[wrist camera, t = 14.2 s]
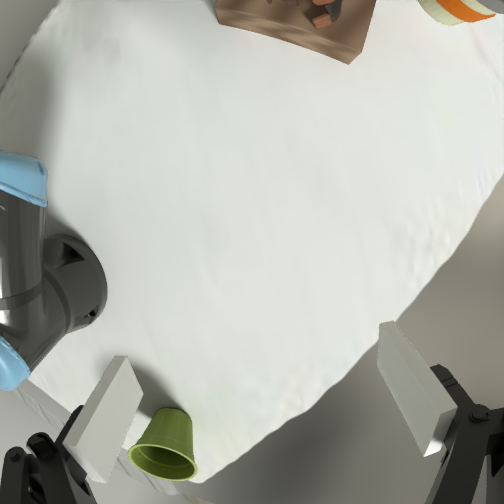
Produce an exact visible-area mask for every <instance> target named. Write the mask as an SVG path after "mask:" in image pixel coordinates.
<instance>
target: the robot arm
mask: <svg viewBox="0 0 504 504" xmlns="http://www.w3.org/2000/svg"><path fill="white" fill-rule="evenodd" d="M47 178H48V174H47V169H46V166H45V165H44V163H43V162H42V161H41V160H39V159H37V158H34V157H31V156H27V155H23V154H19V153H14V152H9V151H3V150H0V389H1V390H12V389H14V388H16V387H17V386H18V385H19V384H20V383H21V382H22V381H23V380H24V379H25V378H28V377H29V376H30V375H31V372H32V371H33V370H34V369H35V368H36V367H37V365H38V364H39V363H40V362H41V361H42V360H43V358H44V357H45V356H46V355H47V354H48V353H49V352H50V351H51V349H52V348H53V347H54V346H55V345H56V344H57V343H58V342H59V341H60V340H61V338H62V337H63V336H64V335H65V334H68V333H70V332H73V331H76V330H79V329H82V328H84V327H87V326H88V325H90V324H91V323H93V322H94V321H95V320H96V318H97V317H98V316H99V315H100V314H101V313H102V311H103V309H104V307H105V304H106V300H107V282H106V278H105V274H104V271H103V269H102V267H101V264H100V263H99V261H98V259H97V258H96V256H95V255H94V253H93V252H92V251H91V250H90V249H89V248H88V247H87V246H86V245H85V244H84V243H82V242H81V241H80V240H78V239H76V238H74V237H71V236H68V235H54V236H51V237H49V238H47V239H44V228H45V213H46V207H47V205H48V202H47V201H46V193H47ZM377 367H378V369H379V371H380V373H381V375H382V376H383V378H384V380H385V382H386V384H387V386H388V388H389V389H390V391H391V393H392V395H393V397H394V399H395V401H396V403H397V405H398V407H399V408H400V410H401V412H402V414H403V416H404V418H405V420H406V422H407V424H408V426H409V428H410V430H411V432H412V434H413V436H414V438H415V440H416V442H417V444H418V446H419V448H420V450H421V452H422V455H423V457H425V456H428V455H430V454H433V453H435V452H438V451H440V449H441V447H442V445H443V442H444V444H445V446H446V448H447V450H446V452H445V454H444V456H443V458H442V460H441V462H442V463H441V466H440V469H439V471H438V474H437V476H436V479H435V481H434V484H433V486H432V488H431V491H430V493H429V495H428V497H427V500H426V502H425V504H471V503H472V500H473V496H474V493H475V490H476V487H477V484H478V480H479V476H480V473H481V469H482V465H483V461H484V457H485V456H487V494H486V504H504V408H499V409H494V410H489V409H488V408H487V407H486V406H483V405H480V404H475V403H473V401H472V400H471V398H470V397H469V396H468V395H467V393H466V392H465V391H464V389H463V388H462V387H461V386H460V384H458V382H457V380H456V379H455V378H454V377H453V375H452V374H451V373H450V372H449V370H448V369H446V368H445V367H443V366H441V365H440V364H438V365H435V366H432V367H429V366H428V365H427V364H426V362H425V361H424V360H423V358H422V357H421V356H420V354H419V353H418V352H417V351H416V349H415V348H414V347H413V345H412V344H411V343H410V342H409V340H408V339H407V338H406V336H405V335H404V334H403V332H402V331H401V330H400V329H399V328H398V326H397V325H396V324H395V322H394V321H390V322H385V323H381V324H380V326H379V345H378V360H377ZM142 396H143V391H142V389H141V387H140V385H139V383H138V380H137V378H136V376H135V374H134V371H133V369H132V367H131V364H130V362H129V360H128V357H127V356H115V357H114V359H113V360H112V362H111V363H110V365H109V366H108V368H107V369H106V371H105V373H104V374H103V376H102V377H101V379H100V381H99V382H98V384H97V385H96V387H95V389H94V390H93V392H92V394H91V395H90V397H89V398H88V400H87V402H86V403H85V405H80V406H79V407H78V408H77V409H75V410H74V411H73V413H72V414H71V416H70V418H69V420H68V421H67V423H66V426H64V427H63V429H62V431H61V432H60V434H59V436H58V438H57V439H56V441H55V443H54V442H53V441H52V439H51V438H50V437H49V435H48V434H46V433H44V432H39V433H36V434H34V435H32V436H31V437H30V438H29V439H28V441H27V445H26V446H27V448H28V449H29V450H30V452H31V453H32V454H27V453H26V452H25V451H24V450H23V448H21V447H13V448H11V449H9V450H8V451H7V453H6V455H5V458H4V464H3V470H2V477H1V485H0V504H97V502H96V500H95V498H94V496H93V493H92V491H91V489H90V487H89V484H88V483H87V481H86V480H85V478H86V475H87V474H88V475H89V477H90V478H91V479H92V480H93V481H96V482H101V483H105V484H107V483H108V480H109V478H110V475H111V473H112V470H113V467H114V465H115V462H116V460H117V457H118V455H119V452H120V450H121V447H122V445H123V442H124V440H125V437H126V435H127V432H128V430H129V427H130V425H131V423H132V420H133V418H134V415H135V413H136V411H137V408H138V406H139V403H140V401H141V399H142ZM29 488H30V489H29Z"/></svg>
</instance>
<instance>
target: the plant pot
mask: <svg viewBox="0 0 504 504" xmlns="http://www.w3.org/2000/svg"><path fill="white" fill-rule="evenodd" d="M128 457H129V459H130V461H131V462H132V463H133V464H134V465H135V466H136V467H137V468H138V469H140V470H142V471H143V472H145V473H147V474H149V475H152V476H154V477H157V478H161V479H165V480H171V481H183V480H188V479H191V478H193V477H194V476H195V475H196V474H197V472H198V469H197V466H196V464H195V462H194V455H193V435H192V420H191V418H190V417H189V416H188V415H187V414H186V413H184V412H183V411H181V410H178V409H170V408H162V409H159V410H158V411H157V412H156V413H155V415H154V417H153V418H152V420H151V422H150V423H149V425H148V427H147V428H146V430H145V432H144V433H143V435H142V437H141V438H140V439H139V440H138V441H137V443H136V444H135V445H134V446H132V447H131V448H130V449H129V451H128Z"/></svg>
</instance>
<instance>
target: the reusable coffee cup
mask: <svg viewBox="0 0 504 504" xmlns="http://www.w3.org/2000/svg"><path fill="white" fill-rule="evenodd" d="M418 1H419V3H420V5H421V6H422V8H423V9H424V10H425V11H426V12H427V13H428V14H429V15H430V16H431V17H432V18H433V19H435V20H436V21H438V22H440V23H441V24H444V25H448V26H454V25H457V24H460V23H463V22H476V21H479V20H483V19H487V18H491V17H494V16H495V15H496V13H499V14H504V0H418Z"/></svg>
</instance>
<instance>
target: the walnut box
mask: <svg viewBox="0 0 504 504" xmlns="http://www.w3.org/2000/svg"><path fill="white" fill-rule="evenodd" d="M298 1H299V7H292V6H289V5H287V3H286V2H284V1H282V0H272V3H271V4H269V3H268V2H267V1H266V0H217V2H216V4H215V10H216V14H217V17H218V21H219V24H222V25H226V26H231V27H235V28H240V29H244V30H248V31H252V32H256V33H259V34H263V35H267V36H270V37H274V38H277V39H280V40H283V41H287V42H290V43H293V44H296V45H299V46H302V47H305V48H307V49H310V50H313V51H316V52H318V53H321V54H324V55H326V56H329V57H331V58H334V59H336V60H339V61H341V62H343V63H346V64H348V65H349V64H350V63H351V62H352V61H353V60H354V59H355V58H356V57H357V56H358V55H359V54H360V53H361V52H362V49H363V46H364V42H365V39H366V36H367V32H368V28H369V25H370V21H371V18H372V14H373V11H374V7H375V3H376V0H343V1H342V6H341V14H340V16H339V18H338V19H337V20H336V21H335V22H333V23H332V24H330V25H328V26H326V27H324V28H320V29H316V28H315V24H314V23H313V21H312V19H313V18H315V17H318V16H320V15H323V14H324V13H326V9H325V7H324V6H323V5H316V4H315V3H313V2H312V1H311V0H298Z"/></svg>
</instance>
